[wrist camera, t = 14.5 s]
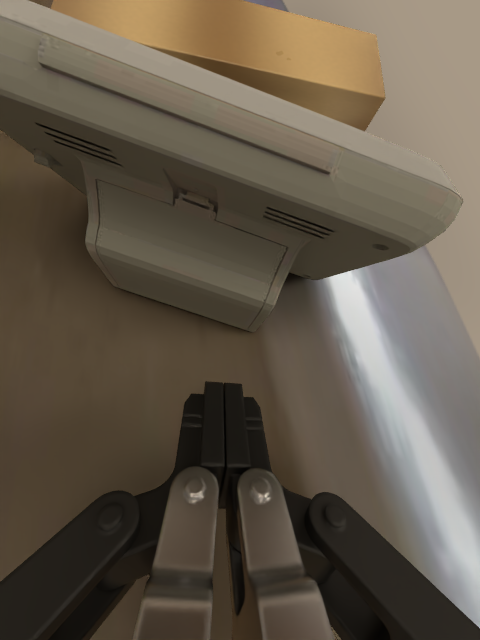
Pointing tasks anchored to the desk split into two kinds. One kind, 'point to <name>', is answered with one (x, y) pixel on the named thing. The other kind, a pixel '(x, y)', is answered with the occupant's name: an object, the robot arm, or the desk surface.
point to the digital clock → (206, 170)
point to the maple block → (254, 49)
